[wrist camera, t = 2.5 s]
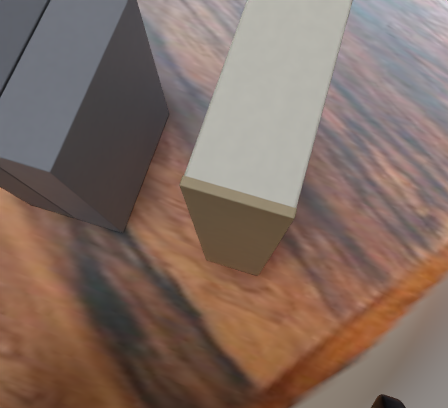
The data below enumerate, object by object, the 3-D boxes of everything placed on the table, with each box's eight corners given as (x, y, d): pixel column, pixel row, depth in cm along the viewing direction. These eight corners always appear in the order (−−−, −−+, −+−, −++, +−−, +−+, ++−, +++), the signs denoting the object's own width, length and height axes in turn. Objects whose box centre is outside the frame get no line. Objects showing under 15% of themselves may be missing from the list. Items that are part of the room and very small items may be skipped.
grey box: (123, 233, 23) (49, 172, 14) (29, 204, 24) (-104, 126, 14) (169, 113, 26) (133, -13, 16) (82, 89, 26) (-4, -47, 16)
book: (258, 276, 23) (294, 218, 10) (206, 260, 23) (179, 185, 10) (294, 148, 25) (361, -30, 12) (246, 134, 25) (264, -53, 13)
